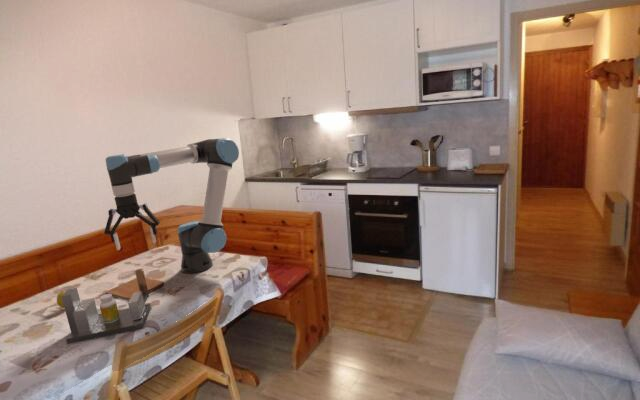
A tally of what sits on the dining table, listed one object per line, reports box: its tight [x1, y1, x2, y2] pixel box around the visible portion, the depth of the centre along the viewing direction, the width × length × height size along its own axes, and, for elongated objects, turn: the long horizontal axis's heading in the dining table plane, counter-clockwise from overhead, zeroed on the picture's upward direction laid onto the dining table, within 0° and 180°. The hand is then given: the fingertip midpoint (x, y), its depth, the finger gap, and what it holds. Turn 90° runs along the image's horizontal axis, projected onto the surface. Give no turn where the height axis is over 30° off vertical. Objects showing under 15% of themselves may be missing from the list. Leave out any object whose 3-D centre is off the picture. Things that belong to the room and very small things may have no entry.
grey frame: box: [61, 287, 152, 345], centre depth 145 cm, size 25×16×16 cm, turn 103°
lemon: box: [56, 290, 67, 309], centre depth 165 cm, size 6×6×8 cm
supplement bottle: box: [99, 293, 119, 323], centre depth 145 cm, size 5×5×10 cm
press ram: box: [127, 268, 150, 320], centre depth 152 cm, size 3×19×13 cm, turn 13°
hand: (137, 245), depth 158 cm, fingers open, 13 cm apart
